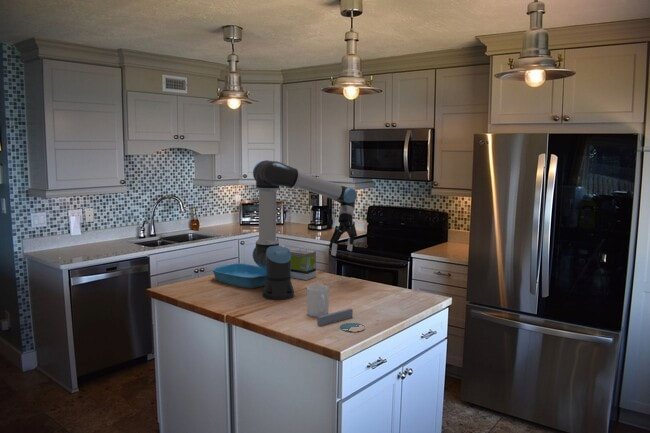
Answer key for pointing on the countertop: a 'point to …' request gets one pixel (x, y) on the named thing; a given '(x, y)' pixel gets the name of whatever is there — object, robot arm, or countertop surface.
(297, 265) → the tea box
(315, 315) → the mug
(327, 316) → the wall
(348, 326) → the pad
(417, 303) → the countertop surface
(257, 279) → the casserole dish
